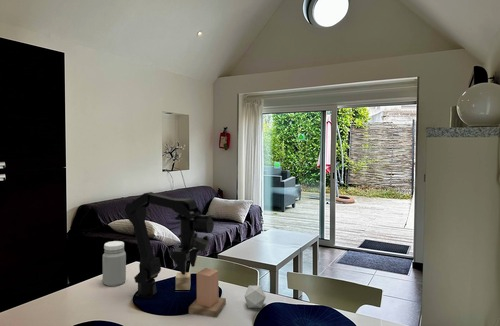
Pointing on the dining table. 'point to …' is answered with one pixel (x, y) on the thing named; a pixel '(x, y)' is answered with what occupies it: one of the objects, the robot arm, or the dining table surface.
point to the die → (255, 296)
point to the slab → (207, 308)
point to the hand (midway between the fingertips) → (188, 270)
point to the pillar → (207, 287)
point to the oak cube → (183, 281)
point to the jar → (114, 263)
